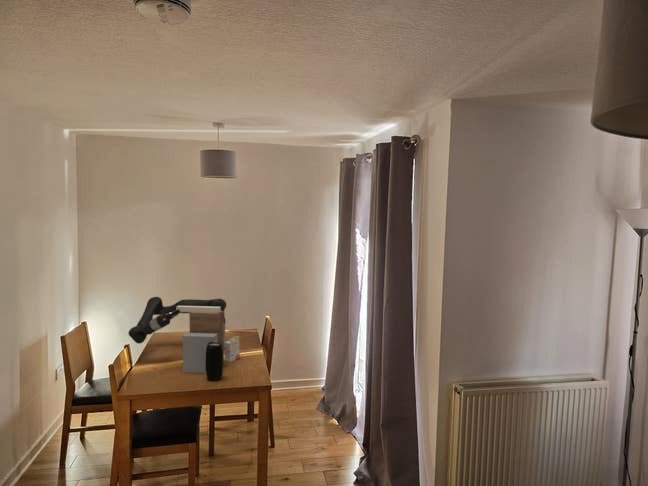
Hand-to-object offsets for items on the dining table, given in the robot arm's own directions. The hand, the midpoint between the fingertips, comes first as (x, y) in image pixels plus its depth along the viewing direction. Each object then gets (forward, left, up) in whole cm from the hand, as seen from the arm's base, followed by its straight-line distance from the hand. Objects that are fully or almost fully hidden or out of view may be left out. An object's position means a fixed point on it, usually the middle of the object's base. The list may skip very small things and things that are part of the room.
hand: (182, 309), depth 257 cm
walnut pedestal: (0, +15, -33) cm, 36 cm away
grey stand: (+11, +15, -33) cm, 38 cm away
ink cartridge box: (-11, +27, -33) cm, 44 cm away
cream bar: (0, +10, -1) cm, 10 cm away
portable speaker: (+22, +27, -33) cm, 48 cm away
